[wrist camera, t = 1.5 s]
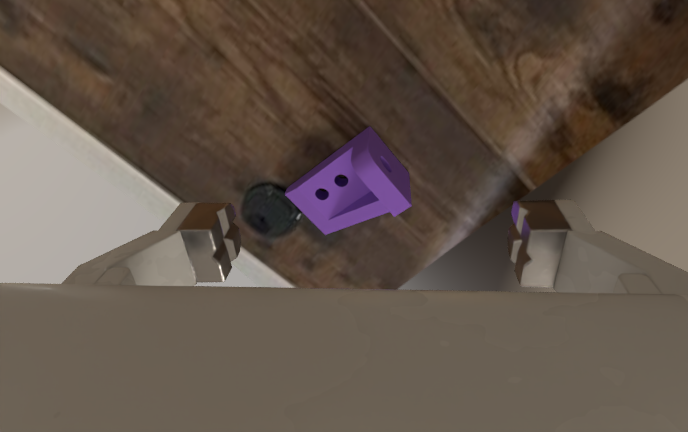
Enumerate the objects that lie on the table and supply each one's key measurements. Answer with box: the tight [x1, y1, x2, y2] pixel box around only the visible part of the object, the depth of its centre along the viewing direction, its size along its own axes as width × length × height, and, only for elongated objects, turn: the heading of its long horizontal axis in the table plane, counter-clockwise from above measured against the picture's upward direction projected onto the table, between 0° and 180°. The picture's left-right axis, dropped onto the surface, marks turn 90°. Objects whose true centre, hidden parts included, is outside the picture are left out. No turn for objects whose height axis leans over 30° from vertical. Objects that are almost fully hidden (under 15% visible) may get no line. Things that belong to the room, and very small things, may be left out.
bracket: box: [285, 126, 412, 235], centre depth 46 cm, size 12×7×7 cm, turn 130°
